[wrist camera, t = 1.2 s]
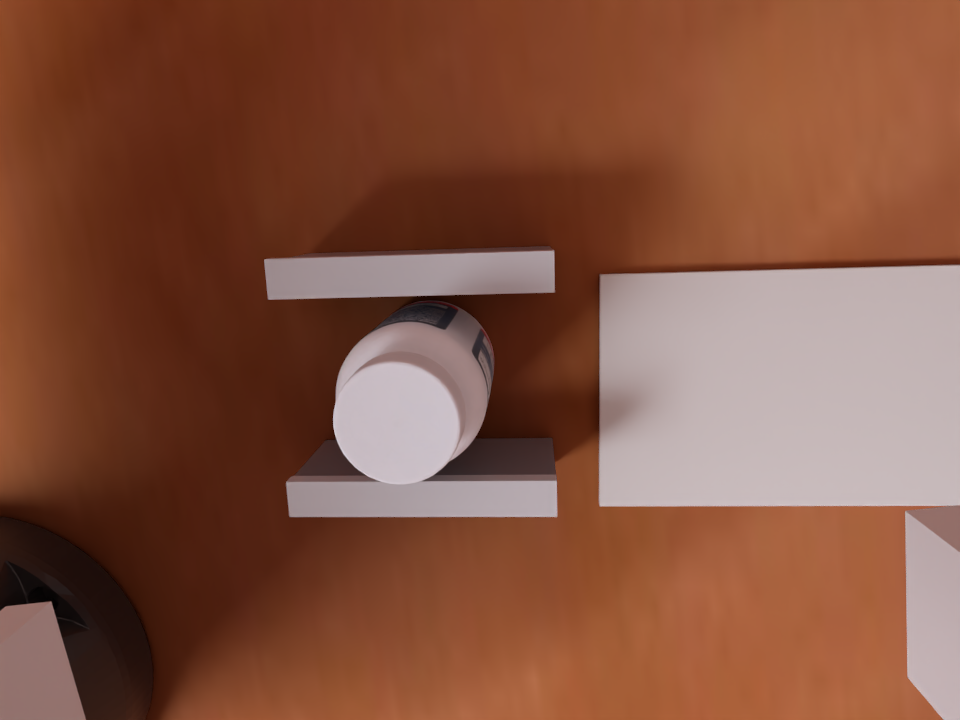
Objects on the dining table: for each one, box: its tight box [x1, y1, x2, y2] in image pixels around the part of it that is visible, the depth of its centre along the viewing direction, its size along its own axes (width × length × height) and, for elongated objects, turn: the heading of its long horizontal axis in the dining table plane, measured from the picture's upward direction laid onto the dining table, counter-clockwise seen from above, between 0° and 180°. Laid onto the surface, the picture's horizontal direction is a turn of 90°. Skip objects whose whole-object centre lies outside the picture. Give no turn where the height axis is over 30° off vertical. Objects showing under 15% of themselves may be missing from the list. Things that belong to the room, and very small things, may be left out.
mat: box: [599, 264, 960, 506], centre depth 29 cm, size 16×10×1 cm, turn 93°
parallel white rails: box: [264, 246, 557, 517], centre depth 27 cm, size 10×10×5 cm
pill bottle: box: [333, 300, 494, 485], centre depth 25 cm, size 5×5×9 cm
